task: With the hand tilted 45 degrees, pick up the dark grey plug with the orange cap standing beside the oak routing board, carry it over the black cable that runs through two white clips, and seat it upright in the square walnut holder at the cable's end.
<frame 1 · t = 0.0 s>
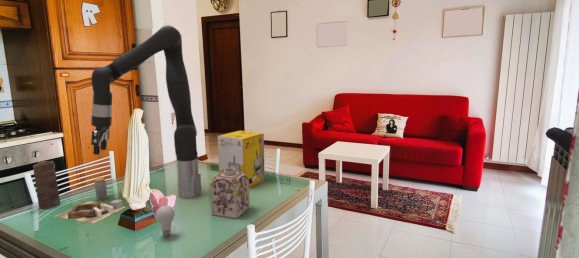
hand: (100, 151, 146), 22 cm above the table, tool pointing down, fingers open, 8 cm apart
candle: (50, 208, 143), on the table
lightbulb: (167, 236, 119), on the table
holder: (85, 213, 135), resting on board
packaging box: (242, 182, 174), on the table
cable route: (106, 209, 136), on the board, point 2 cm above the table
board: (91, 213, 137), on the table
connector: (102, 200, 151), on the table
decorative jar: (231, 211, 139), on the table
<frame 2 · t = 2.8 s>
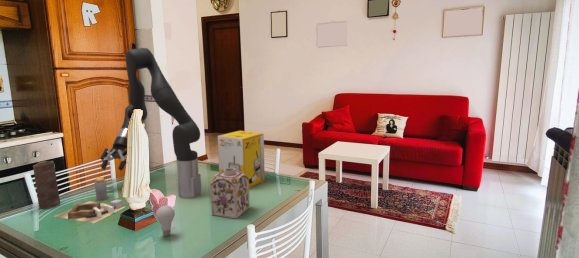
hand: (111, 169, 156), 12 cm above the table, tool tilted 45°, fingers open, 8 cm apart
nothing on the table moved.
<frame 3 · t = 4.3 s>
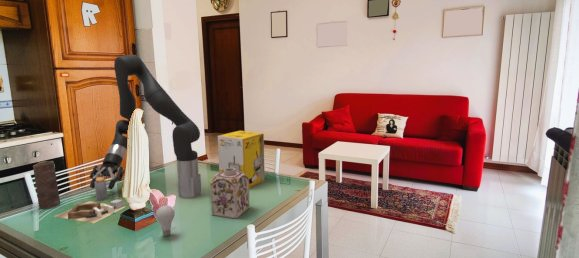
hand: (100, 188, 150), 6 cm above the table, tool tilted 45°, fingers open, 8 cm apart
nothing on the table moved.
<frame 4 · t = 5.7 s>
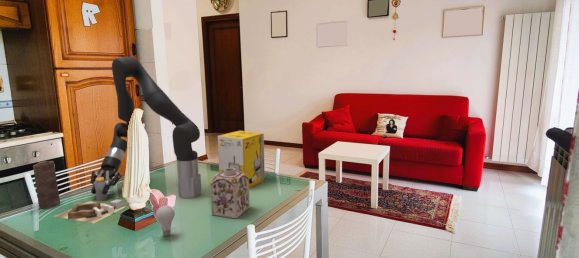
hand: (98, 193, 148), 4 cm above the table, tool tilted 45°, fingers closed on connector, 4 cm apart
connector: (102, 200, 151), on the table, touching gripper
everything else where it was.
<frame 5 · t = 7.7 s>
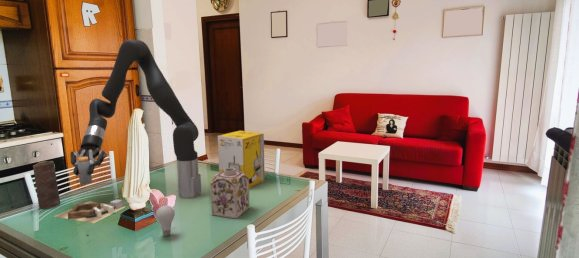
hand: (82, 174, 136), 16 cm above the table, tool tilted 45°, fingers closed on connector, 4 cm apart
connector: (86, 182, 139), point 12 cm above the table, touching gripper
everything else where it was.
when the fingers open (7 cm above the table, at t = 10.1 s): connector drops 2 cm, resting on board.
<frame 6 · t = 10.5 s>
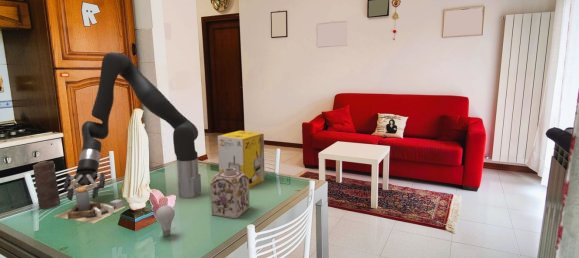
hand: (81, 198, 133), 8 cm above the table, tool tilted 45°, fingers open, 8 cm apart
connector: (84, 212, 136), point 1 cm above the table, touching board
everything else where it was.
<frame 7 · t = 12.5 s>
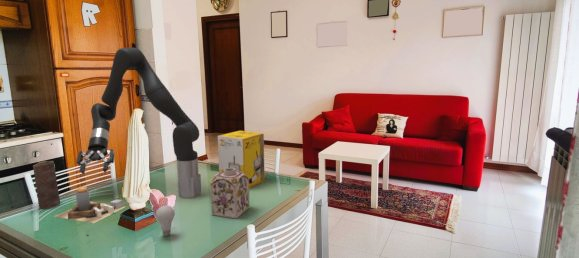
hand: (93, 172, 145), 14 cm above the table, tool tilted 45°, fingers open, 8 cm apart
nothing on the table moved.
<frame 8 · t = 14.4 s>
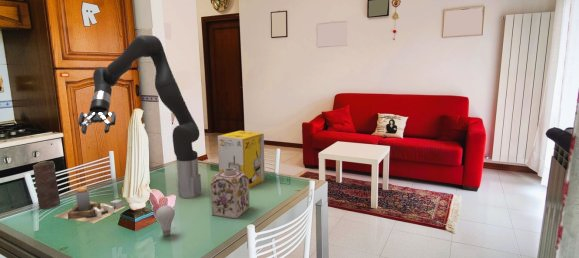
hand: (94, 132, 146), 31 cm above the table, tool tilted 45°, fingers open, 8 cm apart
nothing on the table moved.
at the end: connector 0.2 cm off-centre on the holder, point 0.0 cm above the holder's base; connector tilted 0°; the gripper is holding nothing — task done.
